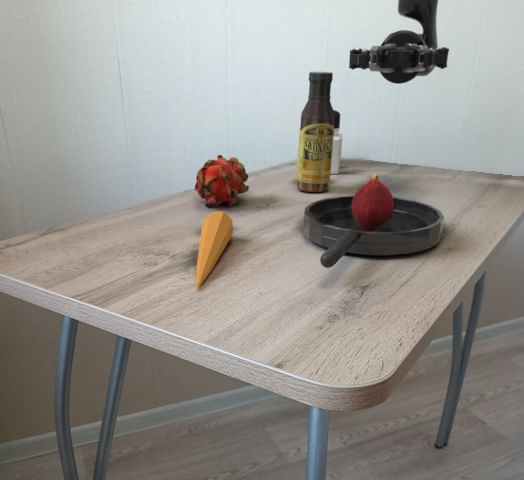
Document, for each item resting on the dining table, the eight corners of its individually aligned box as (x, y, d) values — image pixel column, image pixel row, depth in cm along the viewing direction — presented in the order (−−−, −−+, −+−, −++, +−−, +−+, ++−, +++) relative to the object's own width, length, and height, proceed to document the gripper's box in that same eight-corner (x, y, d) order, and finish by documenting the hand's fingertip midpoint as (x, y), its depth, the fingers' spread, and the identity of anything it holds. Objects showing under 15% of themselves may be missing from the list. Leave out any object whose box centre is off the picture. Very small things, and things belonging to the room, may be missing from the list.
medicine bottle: (340, 167, 121) (344, 108, 115) (338, 174, 115) (342, 112, 109) (308, 166, 122) (310, 108, 116) (304, 173, 116) (306, 112, 110)
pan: (449, 225, 83) (452, 202, 82) (426, 268, 68) (430, 240, 66) (328, 212, 90) (329, 190, 89) (283, 247, 75) (283, 222, 73)
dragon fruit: (245, 204, 101) (210, 231, 92) (209, 173, 101) (171, 198, 92) (266, 169, 95) (231, 195, 86) (229, 136, 94) (190, 159, 86)
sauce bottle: (300, 194, 100) (303, 73, 91) (293, 186, 106) (295, 71, 96) (334, 193, 101) (342, 72, 92) (326, 185, 107) (332, 70, 97)
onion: (395, 237, 77) (402, 178, 73) (354, 238, 76) (359, 179, 72) (384, 225, 82) (390, 169, 78) (346, 226, 81) (350, 170, 77)
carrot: (212, 241, 80) (198, 213, 78) (240, 230, 79) (227, 201, 76) (187, 312, 64) (169, 280, 61) (222, 300, 62) (204, 267, 60)
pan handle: (345, 240, 71) (346, 227, 70) (359, 242, 70) (360, 228, 69) (317, 268, 62) (318, 253, 62) (332, 271, 62) (333, 255, 61)
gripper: (361, 31, 91) (345, 30, 77) (451, 29, 87) (451, 27, 73) (358, 82, 94) (342, 89, 81) (444, 82, 91) (443, 89, 77)
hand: (394, 59), depth 77 cm, fingers open, 8 cm apart
